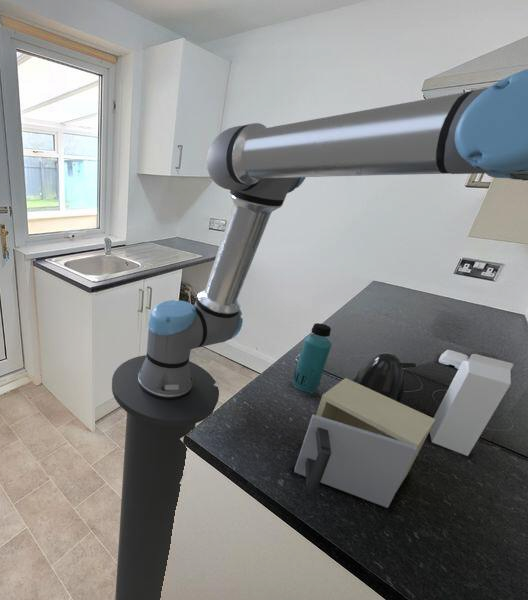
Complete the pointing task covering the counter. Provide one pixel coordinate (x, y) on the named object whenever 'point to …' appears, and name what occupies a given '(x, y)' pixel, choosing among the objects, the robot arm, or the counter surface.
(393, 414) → the oven
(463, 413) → the milk
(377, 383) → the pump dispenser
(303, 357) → the beverage bottle
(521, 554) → the counter surface
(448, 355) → the soap
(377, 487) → the oven door
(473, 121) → the robot arm
